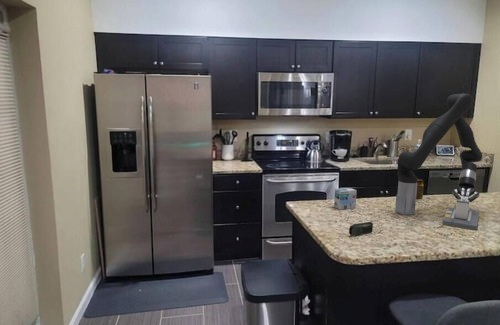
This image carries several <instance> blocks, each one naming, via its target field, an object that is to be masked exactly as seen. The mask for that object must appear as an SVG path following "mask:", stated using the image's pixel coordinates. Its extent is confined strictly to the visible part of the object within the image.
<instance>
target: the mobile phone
mask: <svg viewBox="0 0 500 325" xmlns="http://www.w3.org/2000/svg"><path fill="white" fill-rule="evenodd" d="M348 228H349V229H348V233H349V235H348V238H352V237H357V236H361V235H362V236H363V235H366V234H370V233H372V232H373V228H374V223H373V222H371V221H366V222H359V223H358V222H357V223H353V224H351V225H350V226H349V227H348Z"/></svg>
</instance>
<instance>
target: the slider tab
mask: <svg viewBox="0 0 500 325" xmlns="http://www.w3.org/2000/svg"><path fill="white" fill-rule="evenodd" d="M469 201H470V200H465V199H464V200H463V199H456V206H455V207H456V215H455V218H461V219H467V217H468V210H469V209H470V207H469V206H470V202H469Z"/></svg>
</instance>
